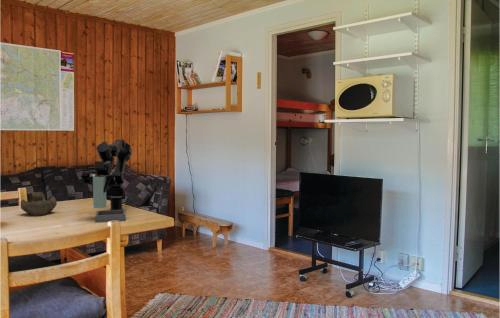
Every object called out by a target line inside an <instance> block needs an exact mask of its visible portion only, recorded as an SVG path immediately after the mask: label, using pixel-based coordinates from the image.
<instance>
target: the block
mask: <svg viewBox="0 0 500 318" xmlns="http://www.w3.org/2000/svg"><path fill="white" fill-rule="evenodd" d="M105 184H106V176H96V177H93V189H92V193H93V194H92V195H93V197H92V198H93V199H92V200H93V201H92V202H93V208H94V209H104V208H106V207H107V196H106V192H105V193H104V192H103V191H104V187H105Z"/></svg>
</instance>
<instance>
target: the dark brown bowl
mask: <svg viewBox="0 0 500 318" xmlns="http://www.w3.org/2000/svg"><path fill="white" fill-rule="evenodd" d="M30 197H31V201H26V200H25V199H20V209H21V210H22V211H24V212H25V213H27V214H30V215H32V216H34V215H35V217H40V215H41V216H44V215H46V214H48V213H51V212H52V211H53V210H54V209H55V208H56V206H57V205H58V204H57V199H56V197H55V196H51V197H50V198H48V199H47V200H46V196H45V194H44V193H43V192H42V191H38V192H37V191H34V192H32V193H31V196H30Z"/></svg>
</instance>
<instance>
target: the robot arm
mask: <svg viewBox="0 0 500 318" xmlns="http://www.w3.org/2000/svg"><path fill="white" fill-rule="evenodd" d="M95 148H96V151H97V152H96V153H97V155H98V157H99V159H100V161H94V164H93V165H94V166H93V169H94V170H95V173H92V172H91V171H84V172H83V171H82V173H81V174H80V178H81V180H82V182H83V184H85V185H86V184H87V185H88V184H90V185H91V187H92V190H93V177H96V176H106V184H105V187H104V191H103V192H104V193H105V192H106V200H110V208H109V210H124V207H123V200H125V199H127V195H126V191H125V188H124V186H123V184H124V183H125V178H124V173H125V168H126V163H127V162H128V161H130V159H131V156H132V154H133V149H132V147H131V145H130V144H129V143H127V142H126V140H125V139H116V140H114V142H112V143H110V144H109V143H108V142H107V141H102V142H101V143H99V144H98V145H97V146H96V147H95ZM115 158H117V159H116V164H115ZM114 165H115V168H114V172H113V167H114Z"/></svg>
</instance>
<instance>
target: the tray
mask: <svg viewBox="0 0 500 318" xmlns="http://www.w3.org/2000/svg"><path fill="white" fill-rule="evenodd" d="M94 218H95V219H94V223H108V221H111V220H120V221H119V222H126V209H123V210H110V209H107V210H106V209H105V210H97V211H96V212H95V217H94Z"/></svg>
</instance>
